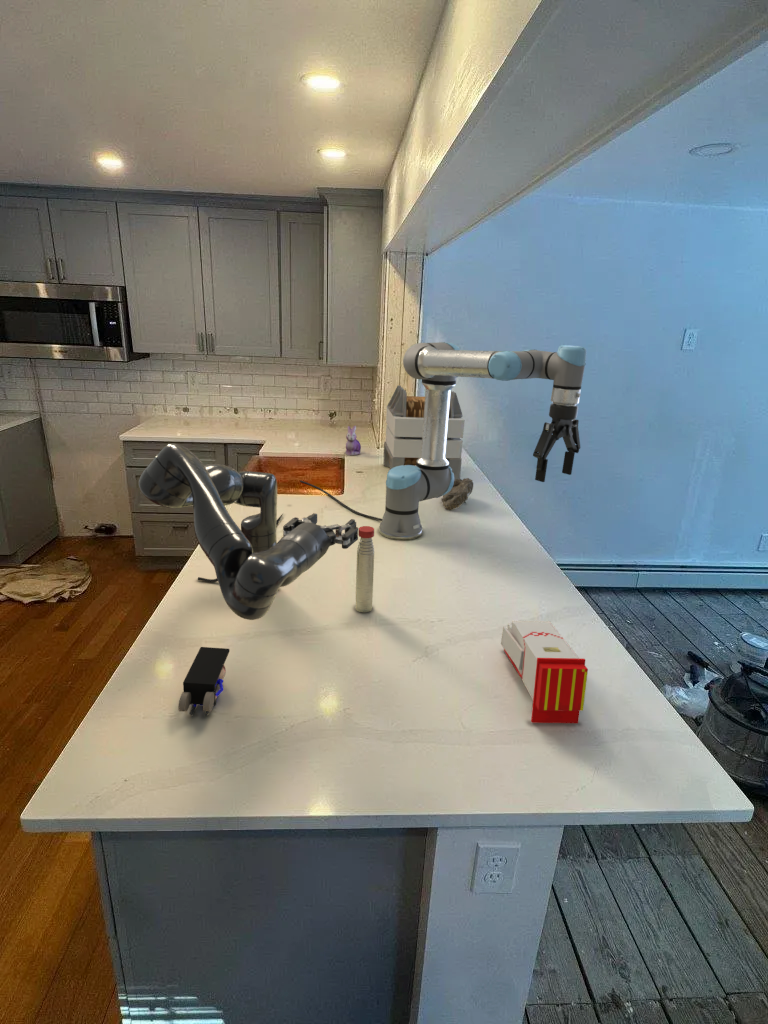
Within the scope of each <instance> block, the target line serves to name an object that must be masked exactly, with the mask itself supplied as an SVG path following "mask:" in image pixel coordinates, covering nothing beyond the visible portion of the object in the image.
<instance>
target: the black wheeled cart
mask: <svg viewBox="0 0 768 1024" xmlns="http://www.w3.org/2000/svg"><path fill="white" fill-rule="evenodd" d="M229 653H230V648H226V647H210V646H208V647H207V646H200V647H199V650H198V651H197V654H196V656H195V657H194V660H193V662H192V664H191V665H190V667H189V670H188V671H187V673H186V676H185V677H184V680H183V682H182V687H183V689H182V690H183V691H182V693H181V694H180V696H179V700H178V711H179V712H182V713H183V712H185V713H187V712H188V711H189V709H190V711H189V715H190V717H193V716H194V715H195V712H196V709H197V706H201V707H202V711H203V712H204V716H205V717H207V716H209V714H210V713H211V712H212V710H213V709H214V707H215V706H216V705H217V701H216V700H217V699H218V697H219V696H220V695H221V694H222V692H224V678H225V676H226V666H225V663H226V660H227V658H228V656H229ZM217 685H218V687H219V689H218V690H217V689H216V687H217ZM216 690H217V691H216ZM190 706H191V708H190Z"/></svg>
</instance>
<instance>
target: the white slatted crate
mask: <svg viewBox="0 0 768 1024" xmlns="http://www.w3.org/2000/svg"><path fill="white" fill-rule="evenodd" d="M407 394H408V393H407V390H406V389H404V388H403V387H402V385H399V384H398V385H397V386H396V388H395V390H394V392H393V394H392V395H391V398H390V400H389V402H388V404H387V405H386V413H385V414H386V415H385V423H386V428H385V438H384V442H383V466H384V467H388V468H389V470H390V469H392V468H394V467H396V466H401V465H404V466H405V465H413V466H416V461H417V459H418V458H420V457H421V450H422V435H423V421H424V406H425V396H415V395H414V396H413V395H412V396H411V395H407ZM464 429H465V419H464V418H463V411H462V408H461V405H460V402H459V398H458V395H457V392H455V391H453V390H451V394H450V406H449V418H448V430H447V442H446V454H445V458H446V459H447V461H448V462H449V466H450V467H451V469H452V473H454V479H461V472H462V461H463V460H462V453H463V442H464V441H463V440H462V439H463V438H464V431H465V430H464Z"/></svg>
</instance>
